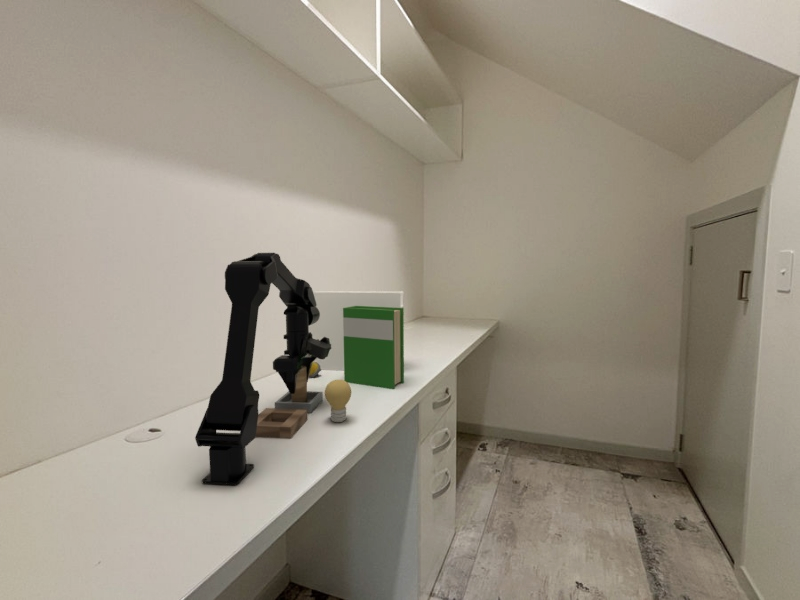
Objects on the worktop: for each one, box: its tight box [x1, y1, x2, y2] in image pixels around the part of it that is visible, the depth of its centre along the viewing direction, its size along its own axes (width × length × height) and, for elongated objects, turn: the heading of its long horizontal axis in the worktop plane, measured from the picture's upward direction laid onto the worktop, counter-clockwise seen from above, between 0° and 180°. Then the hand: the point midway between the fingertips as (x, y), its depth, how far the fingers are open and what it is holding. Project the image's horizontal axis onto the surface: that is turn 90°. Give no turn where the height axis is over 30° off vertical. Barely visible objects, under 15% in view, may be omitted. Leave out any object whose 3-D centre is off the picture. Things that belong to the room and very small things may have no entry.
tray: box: [274, 390, 324, 414], centre depth 106 cm, size 10×10×2 cm
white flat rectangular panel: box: [309, 290, 405, 372], centre depth 143 cm, size 35×8×28 cm, turn 80°
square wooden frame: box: [255, 407, 308, 439], centre depth 92 cm, size 10×10×2 cm
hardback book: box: [343, 306, 405, 390], centre depth 126 cm, size 18×7×24 cm, turn 64°
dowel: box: [292, 366, 308, 403], centre depth 105 cm, size 4×4×10 cm
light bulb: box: [324, 379, 352, 423], centre depth 96 cm, size 6×6×10 cm
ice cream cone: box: [309, 362, 322, 378], centre depth 133 cm, size 5×5×10 cm
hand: (299, 387), depth 105 cm, fingers open, 9 cm apart
